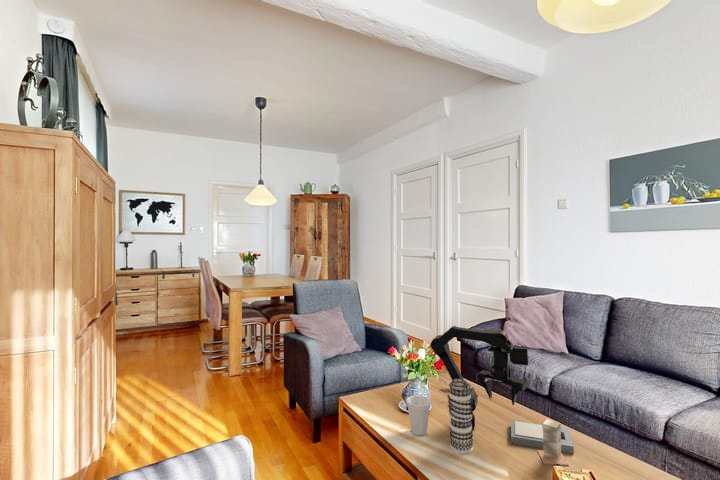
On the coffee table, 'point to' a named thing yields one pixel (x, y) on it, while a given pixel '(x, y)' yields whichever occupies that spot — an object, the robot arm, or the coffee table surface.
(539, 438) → the puzzle board
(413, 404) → the cup
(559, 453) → the block
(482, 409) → the coffee table surface
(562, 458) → the pad
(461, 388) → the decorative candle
